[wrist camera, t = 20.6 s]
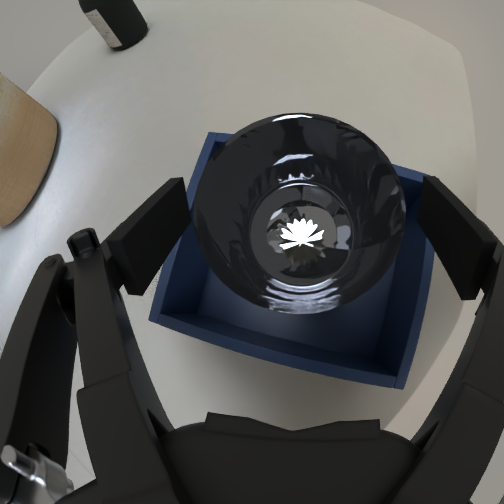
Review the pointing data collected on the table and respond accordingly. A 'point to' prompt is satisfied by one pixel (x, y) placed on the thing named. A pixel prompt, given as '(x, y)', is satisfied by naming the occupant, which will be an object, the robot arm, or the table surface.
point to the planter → (22, 148)
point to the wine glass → (299, 213)
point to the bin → (305, 325)
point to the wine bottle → (115, 21)
